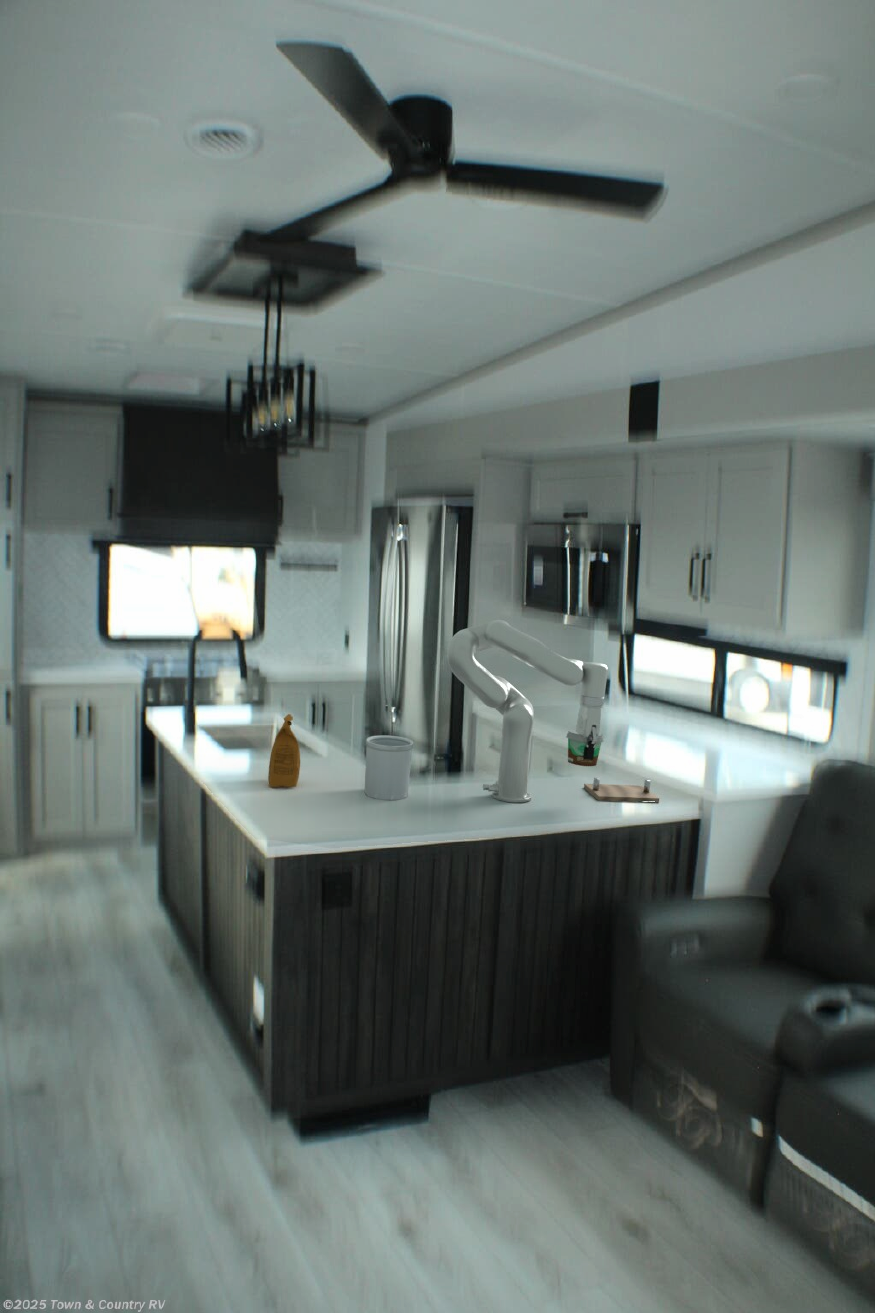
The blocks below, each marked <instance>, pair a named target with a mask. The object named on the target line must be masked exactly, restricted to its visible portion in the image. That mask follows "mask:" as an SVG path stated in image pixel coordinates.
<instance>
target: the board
mask: <svg viewBox="0 0 875 1313" xmlns="http://www.w3.org/2000/svg"><path fill="white" fill-rule="evenodd" d="M600 781H601V778H600V777H593V783H584V784H583V789H584V790H585V791H587V792H588V793H589V794H590V795H592V797H594V798H595V800H597V801H599V802H623V801H655V802H659V803H660V797H658V796H657V795H655V794H654V793H653V792H651V791H650V790H651V789H650V788H651V782H652V781H651V780H650V779H644V781H643V783H644V784H643V785H631V784H629V785H628V784H604V783H603V784H602V783H601V782H600Z"/></svg>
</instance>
